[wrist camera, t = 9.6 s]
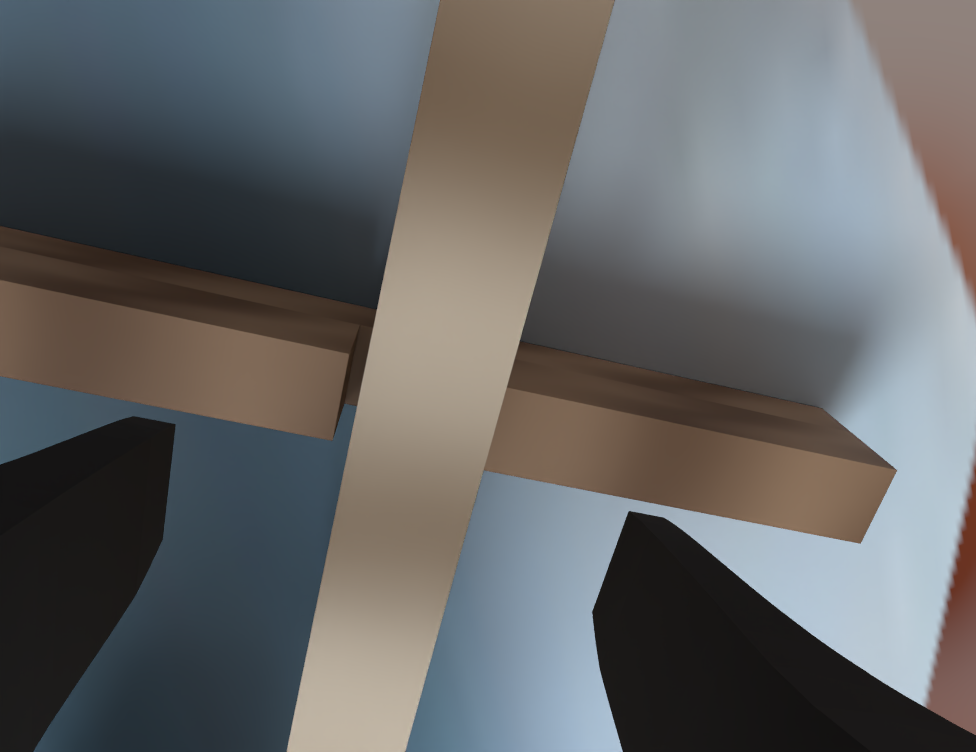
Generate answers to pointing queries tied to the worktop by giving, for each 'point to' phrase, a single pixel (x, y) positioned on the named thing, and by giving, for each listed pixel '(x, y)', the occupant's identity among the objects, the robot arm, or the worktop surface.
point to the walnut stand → (339, 373)
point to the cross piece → (442, 351)
